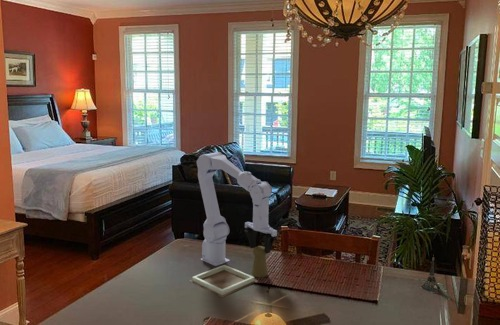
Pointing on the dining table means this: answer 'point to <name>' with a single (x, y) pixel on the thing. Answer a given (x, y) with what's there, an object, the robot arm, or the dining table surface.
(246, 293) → the dining table surface
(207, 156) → the robot arm
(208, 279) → the board
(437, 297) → the dining table surface
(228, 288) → the walled square frame
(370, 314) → the dining table surface
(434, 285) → the eiffel tower figurine
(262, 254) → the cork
